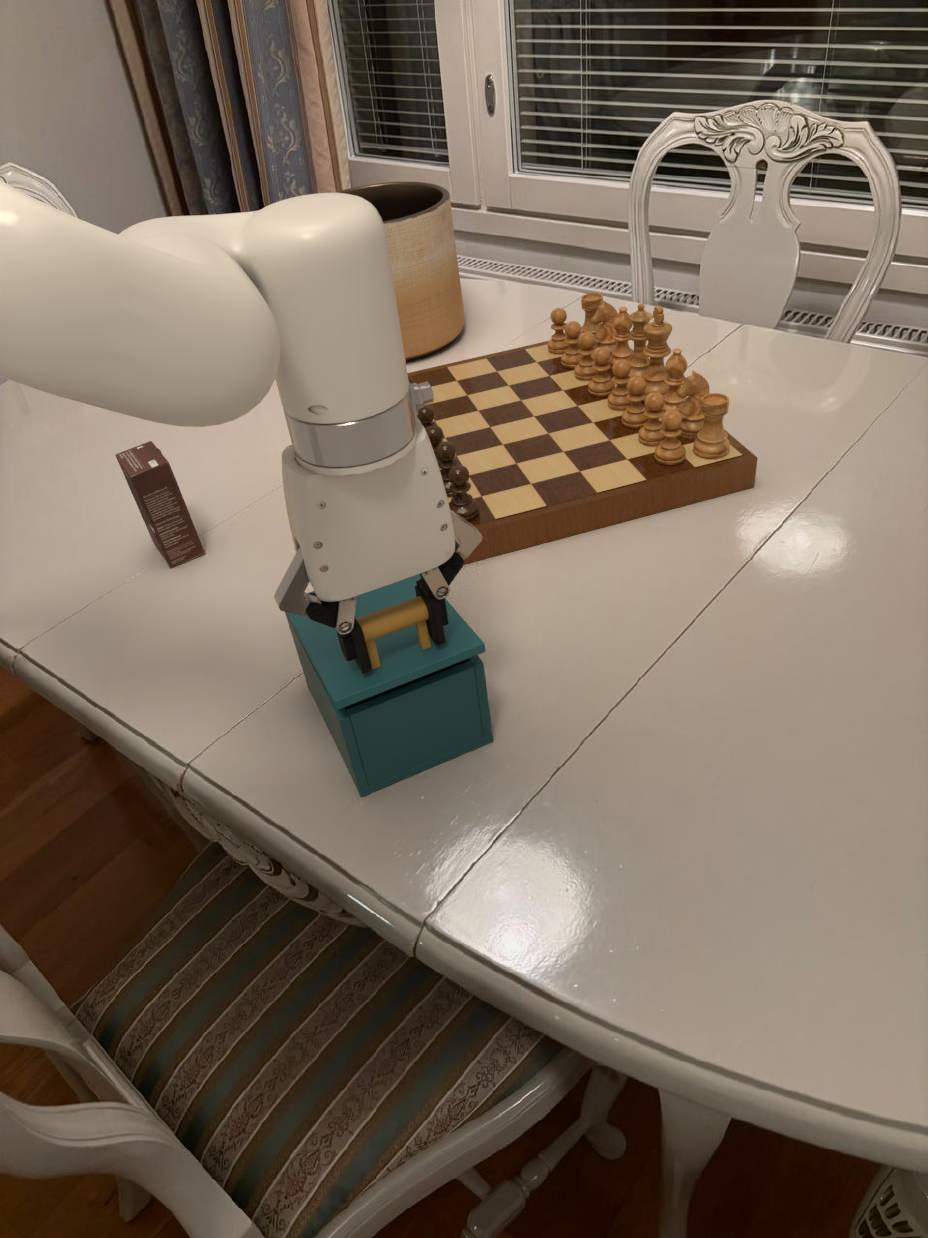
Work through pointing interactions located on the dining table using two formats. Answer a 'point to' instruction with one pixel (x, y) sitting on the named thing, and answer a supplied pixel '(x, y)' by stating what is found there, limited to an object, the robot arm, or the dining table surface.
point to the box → (160, 503)
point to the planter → (420, 261)
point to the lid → (386, 643)
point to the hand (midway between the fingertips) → (397, 645)
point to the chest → (405, 722)
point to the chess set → (578, 431)
